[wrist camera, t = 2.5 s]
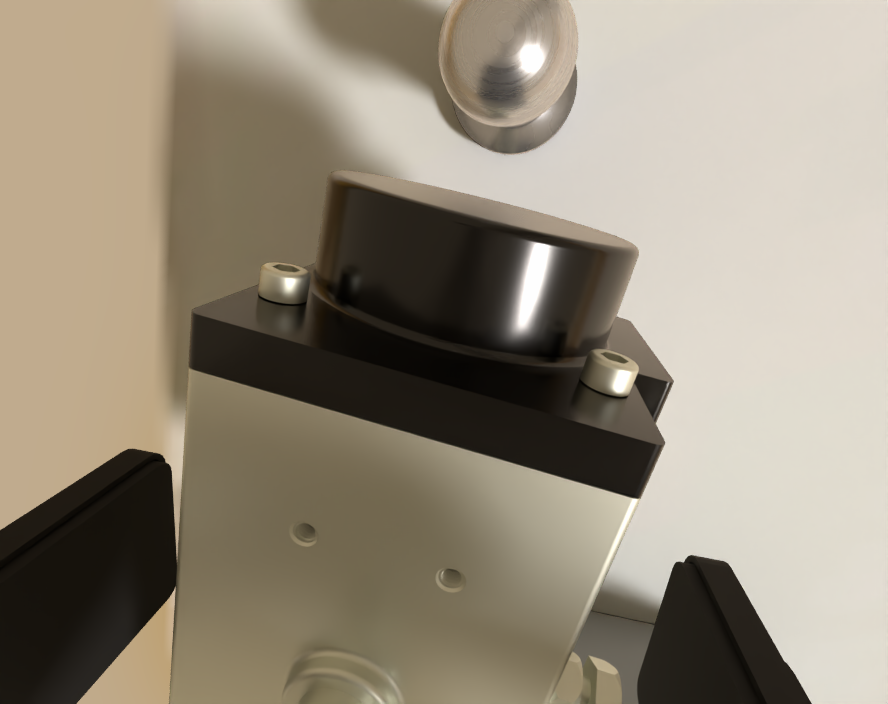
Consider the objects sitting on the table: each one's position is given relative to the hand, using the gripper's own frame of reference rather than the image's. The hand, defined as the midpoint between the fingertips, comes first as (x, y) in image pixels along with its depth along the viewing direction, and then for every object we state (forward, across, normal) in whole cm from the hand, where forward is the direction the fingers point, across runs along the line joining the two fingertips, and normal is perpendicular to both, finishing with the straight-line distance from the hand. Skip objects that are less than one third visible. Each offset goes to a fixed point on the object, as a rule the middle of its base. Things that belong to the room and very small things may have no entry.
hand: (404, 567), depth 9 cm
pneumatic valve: (+8, 0, -1) cm, 8 cm away
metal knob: (+8, 0, -9) cm, 12 cm away
